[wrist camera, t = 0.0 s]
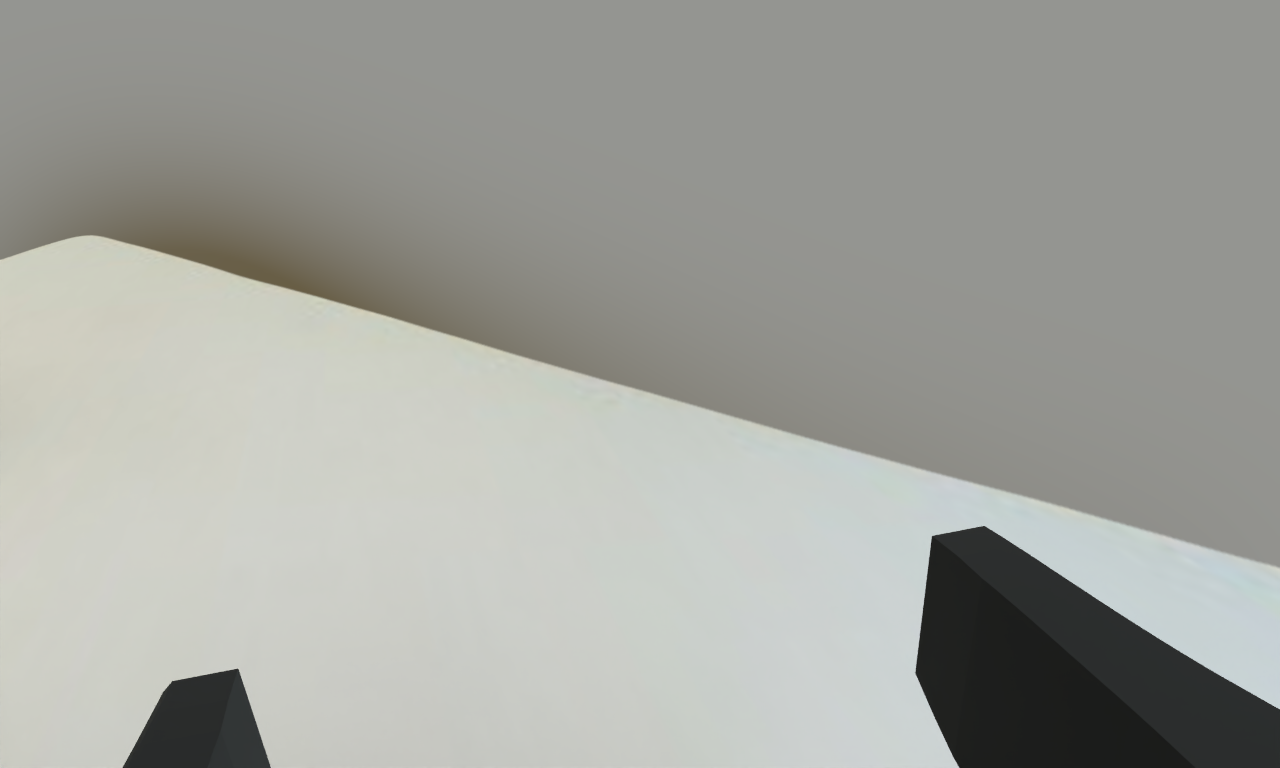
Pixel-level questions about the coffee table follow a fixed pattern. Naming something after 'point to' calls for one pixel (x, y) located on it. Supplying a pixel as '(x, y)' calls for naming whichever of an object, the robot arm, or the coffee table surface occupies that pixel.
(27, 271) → the coffee table surface
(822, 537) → the coffee table surface
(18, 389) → the coffee table surface
